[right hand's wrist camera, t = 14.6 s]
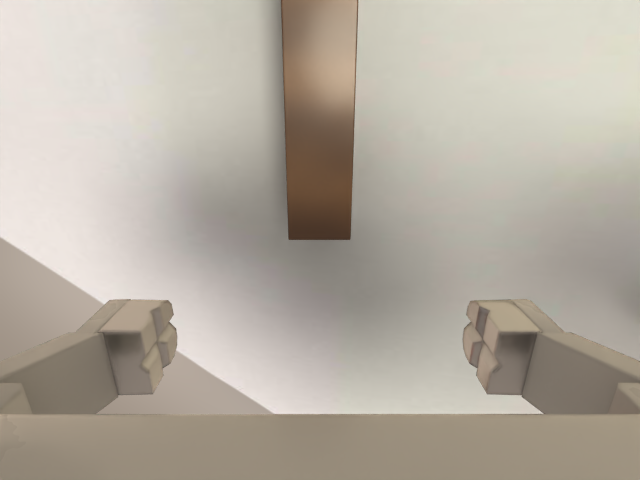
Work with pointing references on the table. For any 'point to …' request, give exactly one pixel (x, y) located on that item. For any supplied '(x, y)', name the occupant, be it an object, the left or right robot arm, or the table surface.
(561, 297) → the table surface
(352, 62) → the bar
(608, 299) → the table surface
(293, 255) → the table surface
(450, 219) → the table surface
